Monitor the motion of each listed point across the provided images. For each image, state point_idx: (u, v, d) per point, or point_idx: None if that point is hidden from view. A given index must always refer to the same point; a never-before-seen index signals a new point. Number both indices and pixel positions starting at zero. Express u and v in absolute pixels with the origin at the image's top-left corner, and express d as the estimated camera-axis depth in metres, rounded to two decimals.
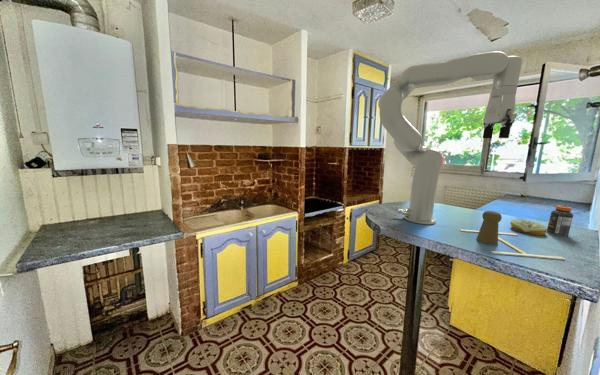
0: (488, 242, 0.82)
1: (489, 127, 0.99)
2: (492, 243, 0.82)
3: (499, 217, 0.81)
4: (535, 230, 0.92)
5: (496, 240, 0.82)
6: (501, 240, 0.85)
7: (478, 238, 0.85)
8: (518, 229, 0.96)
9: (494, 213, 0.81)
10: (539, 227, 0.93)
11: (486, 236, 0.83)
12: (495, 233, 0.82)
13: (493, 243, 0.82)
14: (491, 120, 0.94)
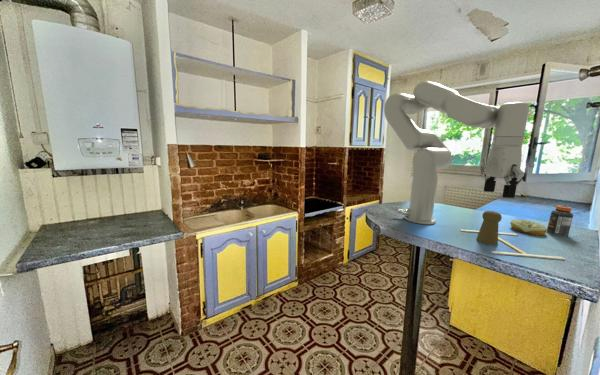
0: (488, 242, 0.82)
1: (491, 179, 0.85)
2: (492, 243, 0.82)
3: (499, 217, 0.81)
4: (535, 230, 0.92)
5: (496, 240, 0.82)
6: (501, 240, 0.85)
7: (478, 238, 0.85)
8: (518, 229, 0.96)
9: (494, 213, 0.81)
10: (539, 227, 0.93)
11: (486, 236, 0.83)
12: (495, 233, 0.82)
13: (493, 243, 0.82)
14: (493, 174, 0.80)
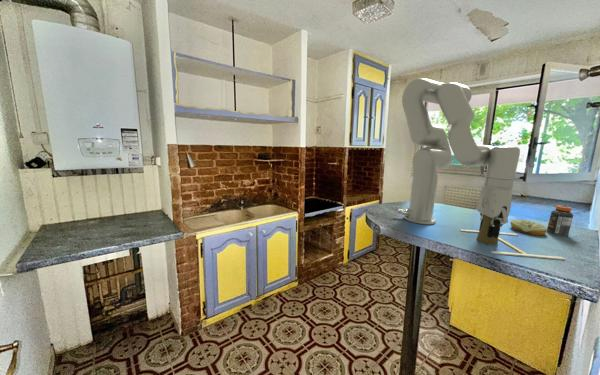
0: (488, 242, 0.82)
1: None
2: (492, 243, 0.82)
3: (499, 217, 0.81)
4: (535, 230, 0.92)
5: (496, 240, 0.82)
6: (501, 240, 0.85)
7: (478, 238, 0.85)
8: (518, 229, 0.96)
9: None
10: (539, 227, 0.93)
11: (486, 236, 0.83)
12: None
13: (493, 243, 0.82)
14: (484, 213, 0.83)
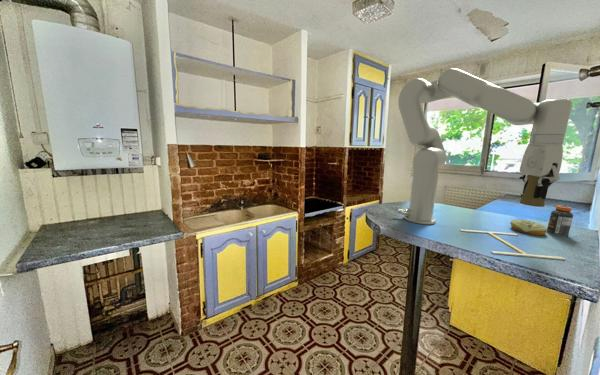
0: (534, 203, 0.78)
1: None
2: (539, 204, 0.78)
3: (547, 176, 0.76)
4: (535, 230, 0.92)
5: (543, 201, 0.78)
6: (501, 240, 0.85)
7: (522, 201, 0.81)
8: (518, 229, 0.96)
9: None
10: (539, 227, 0.93)
11: (532, 197, 0.78)
12: None
13: (540, 204, 0.78)
14: (530, 173, 0.78)
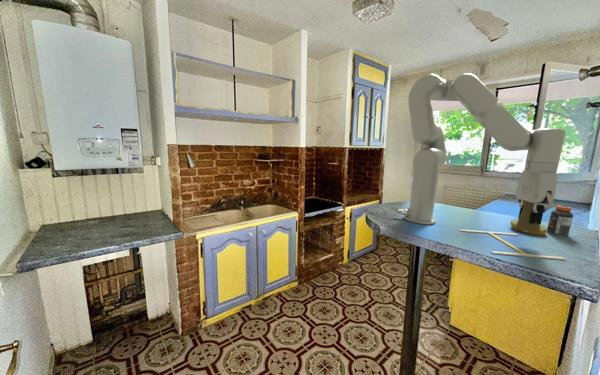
0: (530, 229, 0.80)
1: None
2: (534, 230, 0.79)
3: (542, 202, 0.78)
4: None
5: (538, 226, 0.79)
6: (501, 240, 0.85)
7: (518, 225, 0.82)
8: (518, 229, 0.96)
9: None
10: None
11: (527, 222, 0.80)
12: None
13: (535, 230, 0.79)
14: (526, 198, 0.80)
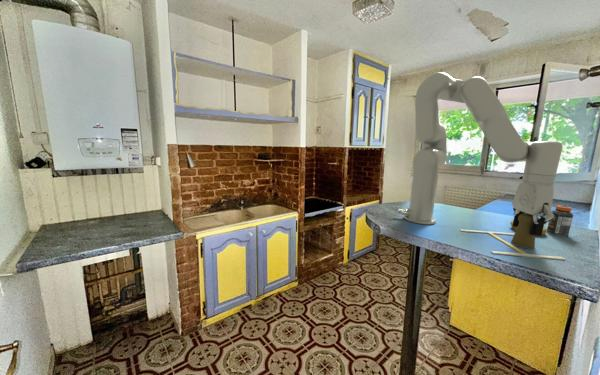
0: (525, 245, 0.81)
1: None
2: (529, 246, 0.80)
3: None
4: None
5: (533, 243, 0.81)
6: (501, 240, 0.85)
7: (513, 241, 0.84)
8: None
9: (531, 216, 0.80)
10: None
11: (522, 239, 0.81)
12: (532, 236, 0.80)
13: (530, 246, 0.80)
14: (523, 210, 0.81)
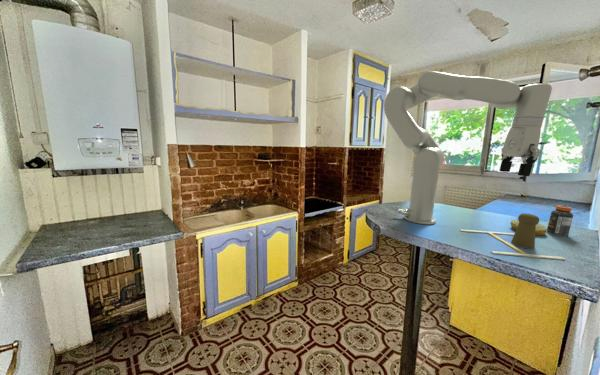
0: (525, 245, 0.81)
1: (507, 159, 0.89)
2: (529, 246, 0.80)
3: (537, 220, 0.79)
4: (535, 230, 0.92)
5: (533, 243, 0.81)
6: (501, 240, 0.85)
7: (513, 241, 0.84)
8: None
9: (531, 216, 0.80)
10: (539, 227, 0.93)
11: (522, 239, 0.81)
12: (532, 236, 0.80)
13: (530, 246, 0.80)
14: (510, 154, 0.84)
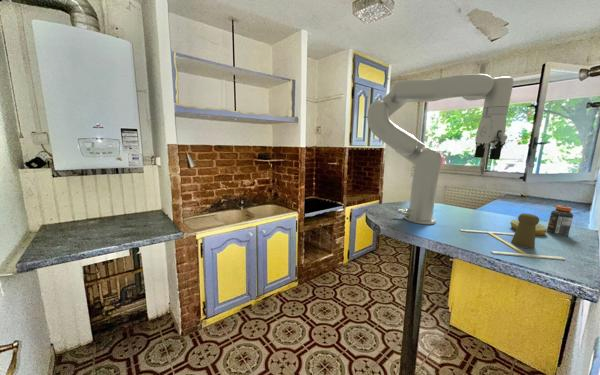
0: (525, 245, 0.81)
1: (481, 146, 0.98)
2: (529, 246, 0.80)
3: (537, 220, 0.79)
4: (535, 230, 0.92)
5: (533, 243, 0.81)
6: (501, 240, 0.85)
7: (513, 241, 0.84)
8: None
9: (531, 216, 0.80)
10: (539, 227, 0.93)
11: (522, 239, 0.81)
12: (532, 236, 0.80)
13: (530, 246, 0.80)
14: (482, 140, 0.93)
